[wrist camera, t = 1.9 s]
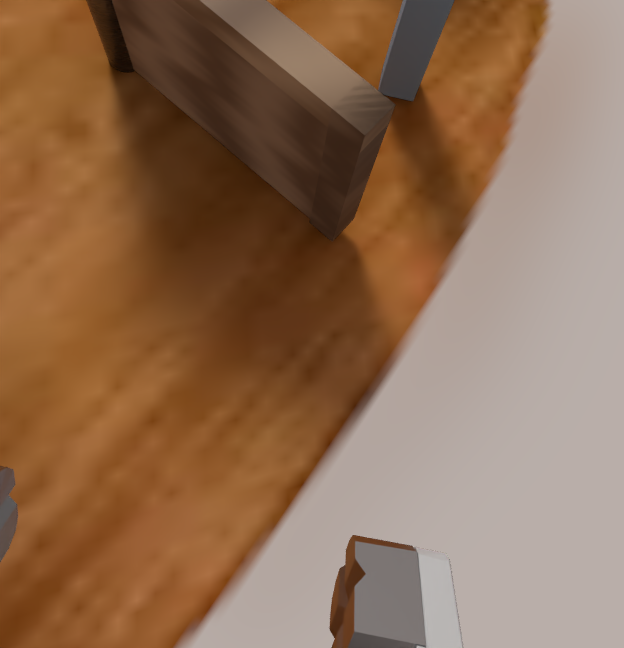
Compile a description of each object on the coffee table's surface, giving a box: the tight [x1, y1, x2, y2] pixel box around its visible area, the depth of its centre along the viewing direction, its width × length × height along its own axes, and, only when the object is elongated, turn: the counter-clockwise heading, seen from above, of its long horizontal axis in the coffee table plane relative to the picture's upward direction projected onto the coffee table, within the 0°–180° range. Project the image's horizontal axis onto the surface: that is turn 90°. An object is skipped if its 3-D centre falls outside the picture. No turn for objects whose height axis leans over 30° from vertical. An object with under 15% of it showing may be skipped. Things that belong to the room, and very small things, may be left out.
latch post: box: [378, 0, 454, 101], centre depth 32 cm, size 2×2×14 cm
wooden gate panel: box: [112, 0, 395, 241], centre depth 30 cm, size 17×2×11 cm, turn 49°
